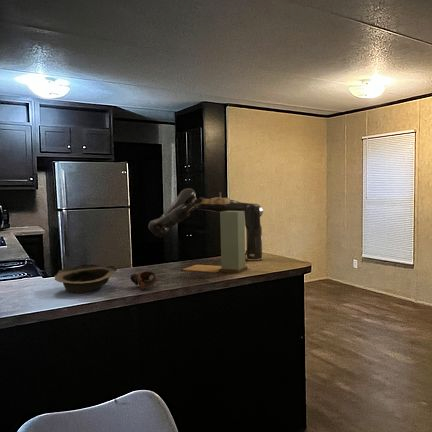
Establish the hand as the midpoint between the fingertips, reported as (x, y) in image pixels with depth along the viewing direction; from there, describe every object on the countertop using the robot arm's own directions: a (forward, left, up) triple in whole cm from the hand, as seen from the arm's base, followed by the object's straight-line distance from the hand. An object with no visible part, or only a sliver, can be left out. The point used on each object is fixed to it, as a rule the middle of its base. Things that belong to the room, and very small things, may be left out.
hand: (202, 198), depth 234 cm
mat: (+1, 0, -38) cm, 38 cm away
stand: (+12, +12, -38) cm, 41 cm away
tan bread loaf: (+4, +4, -3) cm, 6 cm away
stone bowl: (+21, -58, -38) cm, 72 cm away
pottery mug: (+29, -35, -38) cm, 59 cm away
